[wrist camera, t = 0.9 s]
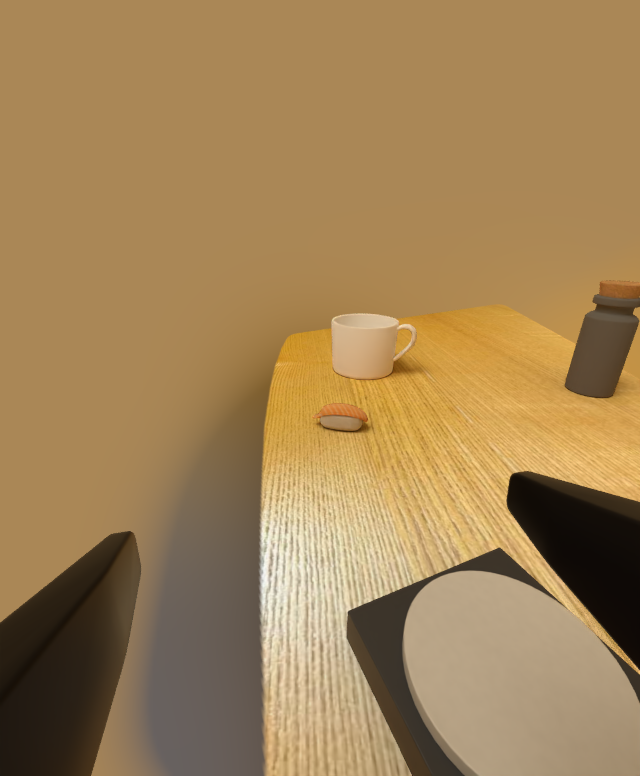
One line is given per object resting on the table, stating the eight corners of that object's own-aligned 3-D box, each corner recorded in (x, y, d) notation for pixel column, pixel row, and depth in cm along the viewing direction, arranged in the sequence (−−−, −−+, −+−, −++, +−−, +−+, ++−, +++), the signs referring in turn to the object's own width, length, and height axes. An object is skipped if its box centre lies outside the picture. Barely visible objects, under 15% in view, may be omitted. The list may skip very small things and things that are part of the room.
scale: (706, 784, 15) (740, 746, 14) (511, 983, 11) (535, 955, 10) (493, 571, 24) (502, 537, 23) (346, 637, 20) (347, 600, 19)
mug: (321, 375, 57) (321, 324, 54) (342, 355, 66) (343, 311, 63) (407, 387, 53) (413, 333, 49) (416, 365, 62) (422, 318, 58)
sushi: (366, 435, 40) (368, 411, 39) (310, 430, 41) (310, 406, 40) (367, 423, 43) (369, 400, 41) (314, 419, 44) (314, 396, 42)
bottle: (557, 380, 55) (587, 279, 49) (600, 383, 54) (635, 280, 48) (574, 396, 50) (609, 284, 44) (622, 399, 49) (664, 286, 43)
